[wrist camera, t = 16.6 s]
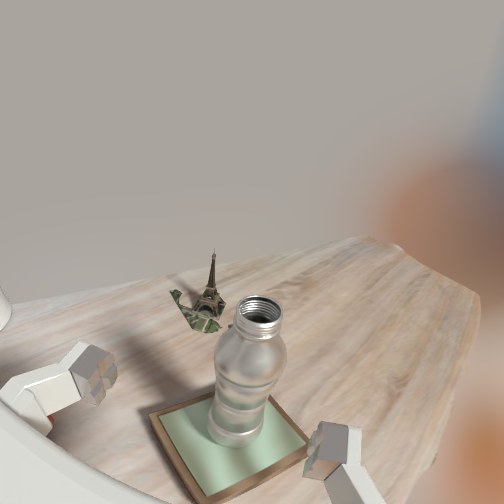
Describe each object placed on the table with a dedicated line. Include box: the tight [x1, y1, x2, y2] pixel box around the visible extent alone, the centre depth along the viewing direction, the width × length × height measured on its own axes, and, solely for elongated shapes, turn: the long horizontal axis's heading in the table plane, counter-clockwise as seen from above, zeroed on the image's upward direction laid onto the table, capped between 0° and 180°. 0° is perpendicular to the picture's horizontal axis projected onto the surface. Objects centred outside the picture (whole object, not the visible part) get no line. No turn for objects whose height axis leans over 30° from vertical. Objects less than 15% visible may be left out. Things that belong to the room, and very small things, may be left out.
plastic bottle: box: [206, 295, 287, 448], centre depth 29 cm, size 6×7×20 cm
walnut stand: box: [149, 391, 310, 504], centre depth 34 cm, size 16×14×3 cm
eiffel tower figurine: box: [170, 253, 233, 333], centre depth 56 cm, size 15×10×13 cm
